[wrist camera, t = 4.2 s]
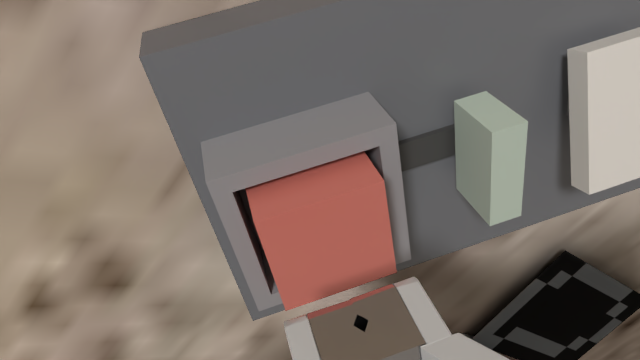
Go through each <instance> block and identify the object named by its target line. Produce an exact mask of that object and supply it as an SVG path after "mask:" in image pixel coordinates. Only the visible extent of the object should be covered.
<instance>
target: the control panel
mask: <svg viewBox="0 0 640 360" xmlns="http://www.w3.org/2000/svg"><path fill="white" fill-rule="evenodd" d="M639 27H640V0H260V1H256V2H253V3H249V4H245V5H242V6H238V7H234V8H231V9H227V10H223V11H220V12H216V13H212V14H209V15H205V16H202V17H198V18H194V19H191V20H187V21H183V22H180V23H176V24H172V25H169V26H165V27H161V28H158V29H154V30H150V31H147V32H143V33H142V39H141V47H140V55H139V58H140V60H141V63H142V65H143V67H144V70H145V72H146V74H147V77H148V79H149V81H150V83H151V86H152V88H153V90H154V93H155V95H156V97H157V100H158V102H159V104H160V107H161V109H162V111H163V114H164V116H165V118H166V121H167V123H168V125H169V127H170V130H171V132H172V134H173V137H174V139H175V141H176V144H177V146H178V148H179V151H180V153H181V155H182V158H183V160H184V162H185V164H186V167H187V169H188V171H189V174H190V176H191V178H192V181H193V183H194V185H195V188H196V190H197V192H198V195H199V197H200V199H201V202H202V204H203V206H204V208H205V211H206V213H207V215H208V218H209V220H210V222H211V225H212V227H213V229H214V232H215V234H216V236H217V239H218V241H219V243H220V245H221V248H222V250H223V252H224V255H225V257H226V259H227V262H228V264H229V266H230V269H231V271H232V273H233V276H234V278H235V280H236V283H237V285H238V287H239V289H240V292H241V294H242V296H243V299H244V301H245V303H246V306H247V308H248V310H249V313H250V315H251V317H252V320H253V321H254V320H257V319H260V318H263V317H265V316H268V315H271V314H274V313H277V312H280V311H283V310H285V308H284V305H283V302H282V299H281V297H280V294H279V291H278V288H277V285H276V283H275V280H274V277H273V274H272V272H271V269H270V266H269V263H268V261H267V258H266V255H265V252H264V250H263V247H262V244H261V241H260V238H259V236H258V233H257V230H256V227H255V225H254V221H253V217H252V213H251V209H250V205H249V201H248V197H247V193H246V189H245V188H248V187H251V186H254V185H257V184H261V183H264V182H267V181H270V180H273V179H277V178H280V177H283V176H286V175H289V174H292V173H296V172H299V171H302V170H305V169H308V168H312V167H315V166H318V165H321V164H324V163H327V162H331V161H334V160H337V159H340V158H343V157H347V156H350V155H353V154H356V153H359V152H362V151H364V152H365V153H366V155H367V156H368V158H369V159H370V161H371V162H372V164H373V165H374V167H375V168H376V169H377V171H378V172H379V174H380V175H381V177H382V178H383V180H384V183H385V190H386V198H387V205H388V212H389V219H390V226H391V234H392V241H393V248H394V255H395V262H396V270H397V271H399V270H402V269H405V268H408V267H411V266H414V265H417V264H419V263H422V262H425V261H428V260H431V259H434V258H437V257H440V256H443V255H446V254H449V253H451V252H454V251H457V250H460V249H463V248H466V247H469V246H472V245H475V244H478V243H480V242H483V241H486V240H489V239H492V238H495V237H498V236H501V235H504V234H507V233H510V232H512V231H515V230H518V229H521V228H524V227H527V226H530V225H533V224H536V223H539V222H542V221H544V220H547V219H550V218H553V217H556V216H559V215H562V214H565V213H568V212H571V211H573V210H576V209H579V208H582V207H585V206H588V205H591V204H594V203H597V202H600V201H603V200H605V199H608V198H611V197H614V196H617V195H620V194H623V193H626V192H629V191H632V190H635V189H637V188H640V178H637V179H634V180H631V181H628V182H625V183H623V184H620V185H617V186H614V187H611V188H608V189H605V190H602V191H599V192H596V193H593V194H590V195H589V194H587V193H585V192H583V191H581V190H579V189H577V188H576V187H574V186H572V185H571V157H570V124H569V91H568V58H567V49H570V48H573V47H576V46H580V45H583V44H586V43H590V42H593V41H596V40H599V39H603V38H606V37H609V36H612V35H616V34H619V33H622V32H626V31H629V30H632V29H635V28H639ZM484 91H487V92H488V93H490V94H491V95H492V96H494V97H495V98H497V99H498V100H499V101H501V102H502V103H503V104H505V105H506V106H508V107H509V108H510V109H512V110H513V111H515V112H516V113H517V114H519V115H520V116H521V117H523V118H524V119H526V120H527V121H528V130H527V144H526V157H525V170H524V184H523V197H522V211H521V216H519V217H516V218H513V219H510V220H507V221H504V222H501V223H498V224H495V225H492V226H489V225H488V224H487V223H486V221H485V220H484V219H483V218H482V217H481V216H480V215H479V213H478V212H477V211H476V210H475V209H474V208H473V207H472V206H471V204H470V203H469V202H468V201H467V200H466V199H465V198H464V196H463V195H462V194H461V193H460V192H459V191H458V190H457V189H456V155H455V120H454V101H455V100H458V99H461V98H465V97H468V96H471V95H474V94H478V93H481V92H484Z"/></svg>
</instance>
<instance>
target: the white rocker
mask: <svg viewBox="0 0 640 360" xmlns="http://www.w3.org/2000/svg"><path fill="white" fill-rule="evenodd" d="M567 58H568V91H569V124H570V157H571V185H572V186H574V187H576V188H577V189H579V190H581V191H583V192H585V193H587V194H589V195H590V194H593V193H596V192H599V191H602V190H605V189H608V188H611V187H614V186H617V185H620V184H623V183H625V182H628V181H631V180H634V179H637V178H640V27H639V28H635V29H632V30H629V31H626V32H622V33H619V34H616V35H612V36H609V37H606V38H603V39H599V40H596V41H593V42H590V43H586V44H583V45H580V46H576V47H573V48H570V49H567Z"/></svg>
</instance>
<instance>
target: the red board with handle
mask: <svg viewBox="0 0 640 360" xmlns="http://www.w3.org/2000/svg"><path fill="white" fill-rule="evenodd" d="M639 308H640V294H639V293H637V292H636V291H634V290H632V289H631V288H629V287H627V286H625V285H624V284H622V283H620V282H619V281H617V280H615V279H613V278H612V277H610V276H608V275H607V274H605V273H603V272H601V271H600V270H598V269H596V268H595V267H593V266H591V265H589V264H588V263H586V262H584V261H583V260H581V259H579V258H577V257H576V256H574V255H572V254H571V253H569V252H567V251H564V252H563V253H562V254H561V255H560V256H559V257H558V258H557V259H556V260H555V261H554V262H553V263H552V264H551V265H550V266H548V267H547V268H546V269H545V270H544V271H543V272H542V273H541V274H540V275H539V276H538V277H537V278H536V279H535V280H534V281H533V282H532V283H531V284H529V285H528V286H527V287H526V288H525V289H524V290H523V291H522V292H521V293H520V294H519V295H518V296H517V297H516V298H515V299H514V300H513V301H511V302H510V303H509V304H508V305H507V306H506V307H505V308H504V309H503V310H502V311H501V312H500V313H499V314H498V315H497V316H496V317H495V318H493V319H492V320H491V321H490V322H489V323H488V324H487V325H486V326H485V327H484V328H483V329H482V330H481V331H480V332H479V333H478V334H477V335H475V336H474V337H473V336H470V335H467V334H464V333H463V335H465V336H467V337H468V338H470V339H472V340H474V341H476V342H478V343H480V344H482V345H483V346H485V347H487V348H489V349H491V350H493V351H496V352H498V353H501V354H504V355H507V356H510V357H513V358H515V359H518V360H578V359H579V358H580V357H581V356H583V355H584V354H585V353H586V352H587V351H589V350H590V349H591V348H592V347H593V346H595V345H596V344H597V343H598V342H599V341H601V340H602V339H603V338H604V337H605V336H607V335H608V334H609V333H610V332H611V331H613V330H614V329H615V328H616V327H617V326H619V325H620V324H621V323H622V322H623V321H625V320H626V319H627V318H628V317H629V316H631V315H632V314H633V313H634V312H635V311H637V310H638V309H639Z"/></svg>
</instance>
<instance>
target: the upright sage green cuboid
mask: <svg viewBox="0 0 640 360" xmlns="http://www.w3.org/2000/svg"><path fill="white" fill-rule="evenodd" d="M454 120H455V155H456V189H457V190H458V191H459V192H460V193H461V194H462V195H463V196H464V198H465V199H466V200H467V201H468V202H469V203H470V204H471V206H472V207H473V208H474V209H475V210H476V211H477V212H478V213H479V215H480V216H481V217H482V218H483V219H484V220H485V221H486V223H487V224H488V225H489V226H492V225H495V224H498V223H501V222H504V221H507V220H510V219H513V218H516V217H519V216H521V211H522V197H523V184H524V170H525V157H526V144H527V130H528V121H527V120H526V119H524V118H523V117H521V116H520V115H519V114H517V113H516V112H515V111H513V110H512V109H510V108H509V107H508V106H506V105H505V104H503V103H502V102H501V101H499V100H498V99H497V98H495V97H494V96H492V95H491V94H490V93H488V92H487V91H484V92H481V93H478V94H474V95H471V96H468V97H465V98H461V99H458V100H455V101H454Z"/></svg>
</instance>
